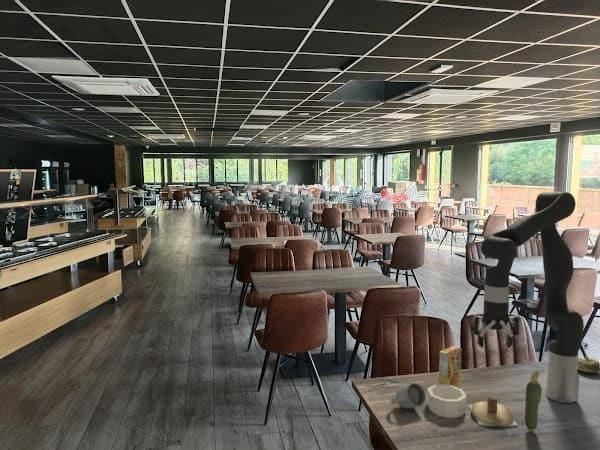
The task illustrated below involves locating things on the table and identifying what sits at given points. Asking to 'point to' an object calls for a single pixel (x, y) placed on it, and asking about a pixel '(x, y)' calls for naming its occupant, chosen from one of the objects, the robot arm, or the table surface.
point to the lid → (492, 412)
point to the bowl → (446, 400)
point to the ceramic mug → (410, 396)
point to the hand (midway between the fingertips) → (494, 346)
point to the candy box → (450, 366)
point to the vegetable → (532, 402)
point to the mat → (494, 425)
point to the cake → (588, 365)
